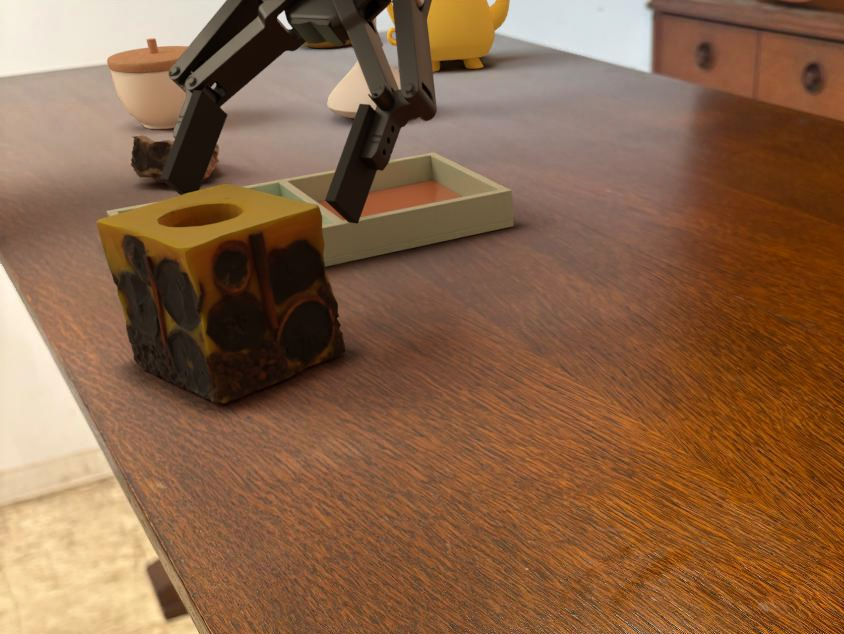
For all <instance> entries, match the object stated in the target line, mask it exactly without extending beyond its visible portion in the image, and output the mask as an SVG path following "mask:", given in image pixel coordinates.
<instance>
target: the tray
mask: <svg viewBox="0 0 844 634" xmlns="http://www.w3.org/2000/svg"><path fill="white" fill-rule="evenodd" d="M335 171H336V169H333V170H327V171H322V172H316V173H310V174H304V175H300V176H293V177H288V178H283V179H277V180H271V181H266V182H260V183H253V184H249V185H244V186H242V187H245V188H249V189H253V190H257V191H261V192H264V193H268V194H272V195H276V196H280V197H285V198H289V199H293V200H298V201H302V202H306V203H310V204H316V205H318V206H319V208H320V211H321V214H322V232H323V238H324V243H325V247H324V254H323V257H324V262H325V268H326V267H330V266H335V265H340V264H344V263H349V262H354V261H358V260H359V261H360V260H363V259H368V258H374V257H376V256H381V255H386V254H390V253H396V252H400V251H404V250H405V251H406V250H410V249H413V248H414V249H415V248H419V247H423V246H428V245H432V244H439V243H443V242H447V241H451V240H456V239H460V238H461V239H462V238H465V237H469V236H475V235H479V234H484V233H489V232H492V231H497V230H503V229H507V228H512V227H514V207H513V190H512V189H510V188H508V187H506V186H504V185H501V184H500V183H498V182H495V181H493V180H492V179H490V178H488V177H485V176H484V175H481V174H479V173H477V172H476V171H473V170H471V169H469V168H467V167H465V166H462V165H461V164H459V163H457V162H455V161H453V160H451V159H449V158H447V157H445V156H443V155H441V154H438V153H436V152H435V151H433V152H428V153H422V154H417V155H411V156H404V157H399V158H394V159H390V160H389V163H388V165H387V166H386V167H385V169H384V170H383V171H381V170H377V172H376V175H375V177H374V180H373V183H372V186H371V189H370V191H369V194H368V197H367V200H366V203H365V205H364V208H363V211H362V214H361V217H360V219H359V222H358V224H357V223H349V222H347V221H346V220H345V219H344V218H343V217H342V216H341V215H340V214H339V213H338V212H337V211H336V210H335V209H334V208H332V207H331V206H330V205H329V204H328V203H327V202H326V201H325V199H326V196H327V193H328V190H329V187H330V185H331V182H332V179H333V176H334V174H335ZM160 201H161V200H160ZM160 201H154V202H149V203H143V204H137V205H132V206H131V205H130V206H125V207H119V208H114V209H110V210H106V217H109V216H113V215H116V214H120V213H123V212H127V211H130V210H133V209H136V208H139V207H143V206H146V205H150V204H153V203H157V202H160Z"/></svg>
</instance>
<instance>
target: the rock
mask: <svg viewBox="0 0 844 634" xmlns="http://www.w3.org/2000/svg"><path fill="white" fill-rule="evenodd" d="M131 138H133V146H132V150H131V158H130V161H131V163H130V166H131V167H132V168H133V169H132V170H133V172H134V173H135V174H136V176H137V177H138V178H140V179H141V178H147V179H148V178H149V179H153V180H155V181H156V182H158V183H161V184H165V183H164V182H163V181H162V180H161V179H160V177H161V174H162V171H163V169H164V166H165V164H166V161H167V158H168V156H169V153H170V151H171V148H172V145H173V143H174V140H170V139H165V140H156V141H155V140H153V139H151V138H150V137H149V136H147V135H134V136H132V135H131ZM219 155H220V145H219V144H218V143H217V144H216V147H215V149H214V152H213V155H212V157H211V160H210V163H209V165H208V168H207V171H206V173H205V176H204V179H203V181H204V180H206V179H208V178H209V177H210V176H211V173H212V172H213V171H214V170H215V169H216V166H217V164H218V163H219V162H220V160H219Z"/></svg>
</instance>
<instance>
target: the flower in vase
mask: <svg viewBox="0 0 844 634" xmlns="http://www.w3.org/2000/svg"><path fill="white" fill-rule="evenodd" d="M374 23H375V26H376V27H377V17H376V18H375V19H374ZM389 66H390V68H391V71H392V73H393V76H394V78H395V81H396V83H397V86H398V88H399V90H400V89H401V85H400V75H399V70H397V69H395V68H393V66H391V65H390V64H389ZM368 94H370V95H371V93H370V91H369V88H368V85H367V83H366V80H365V78H364V75H363V72H362V70H361V67H360V65H359V62H358V59H357V58H356V61H355V64H354V65H353V66H352V67H351V69H350V70H349V71H348V72H347V74H346V75H344V77H343V78H342V79H341V80H340V81H339V82H338V83H337V85H335V86H334V88H333V89H332V91H331V92H330V94H329V95H328V98H327V103H326V106H327V107H328V109H329V110H330V111H331V112H332V113H333V114H335V115H339V116H341V117H344V118H348V119H354V118H355V116H356V113H357V110H358V107H359V105H360V104H369V105H371V107H372V108H373V109H374V110H375V109H376V106H377V105H376V104H375V103H374V102H373V101H372V100H371V98H370V97H369V96H368Z"/></svg>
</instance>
